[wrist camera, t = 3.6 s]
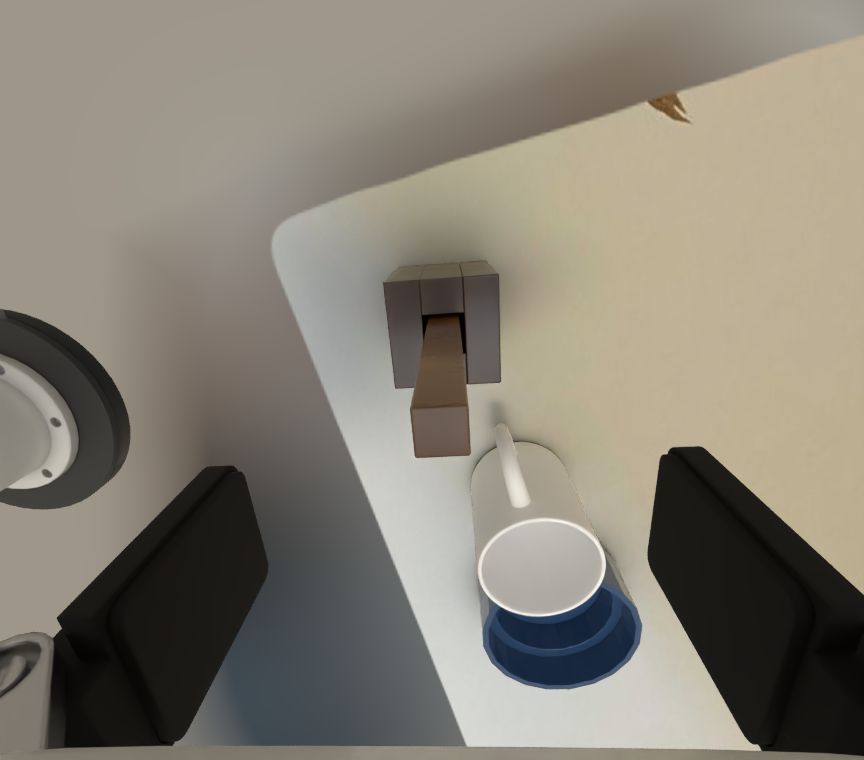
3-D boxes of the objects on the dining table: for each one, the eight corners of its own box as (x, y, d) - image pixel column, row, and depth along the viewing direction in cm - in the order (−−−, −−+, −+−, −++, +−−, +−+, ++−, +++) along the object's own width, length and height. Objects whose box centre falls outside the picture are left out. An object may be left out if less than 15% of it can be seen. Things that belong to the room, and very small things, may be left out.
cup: (484, 528, 39) (496, 627, 30) (444, 415, 35) (443, 488, 26) (574, 506, 38) (616, 602, 28) (543, 387, 34) (580, 453, 25)
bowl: (480, 629, 44) (485, 690, 38) (475, 527, 39) (480, 579, 34) (609, 627, 43) (634, 688, 37) (620, 522, 38) (649, 574, 33)
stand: (407, 350, 33) (394, 389, 26) (398, 266, 31) (382, 282, 24) (489, 345, 33) (501, 383, 25) (486, 260, 31) (499, 273, 23)
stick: (434, 319, 32) (414, 458, 14) (432, 296, 32) (409, 408, 13) (457, 318, 32) (470, 456, 14) (456, 294, 32) (468, 404, 13)
